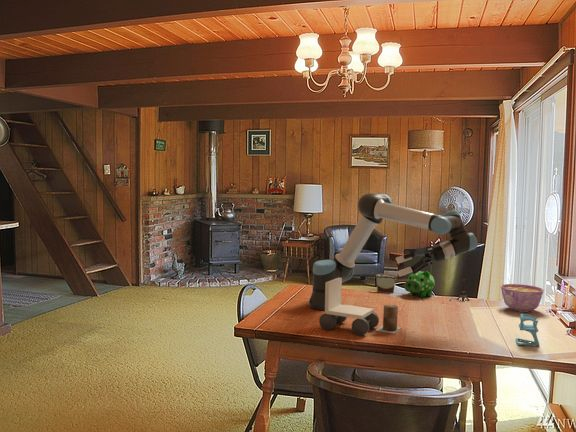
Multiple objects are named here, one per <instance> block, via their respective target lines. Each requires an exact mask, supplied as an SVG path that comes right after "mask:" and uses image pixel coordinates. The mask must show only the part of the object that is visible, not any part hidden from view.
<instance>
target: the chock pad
mask: <svg viewBox="0 0 576 432" xmlns="http://www.w3.org/2000/svg"><path fill="white" fill-rule="evenodd" d="M400 329H401V327H400V326H397V330H396V331H387V330H384V329H383V324H382V325H381V326H379V327H378V328H377V329H375V332H380V333H384V334H392V335H395V334H396V332H398V331H399V330H400Z"/></svg>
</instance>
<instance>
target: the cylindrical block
mask: <svg viewBox="0 0 576 432" xmlns="http://www.w3.org/2000/svg"><path fill="white" fill-rule="evenodd" d="M398 310H399V306H398V305H395V304H384V305H383V315H382V316H383V317H382V325H383V329H384V330H387V331H396V330H397V327H398V317H399V316H398V314H399V311H398Z"/></svg>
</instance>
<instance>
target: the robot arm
mask: <svg viewBox="0 0 576 432" xmlns="http://www.w3.org/2000/svg"><path fill="white" fill-rule="evenodd" d="M357 210H358V212H359V213H360V218H359V220H358V221H357V223H356V225H355V227H354V228H353V230H352V232H351V234H350V236H348V239H347V241H346V242H345V244H344V245H343V247H342V249H341V250H340V253H336V254H335V255H334V257H333V258H332V260H331V259H322V260H320V259H319V260H316V261H315V262H314V263H313V265H312V293H310V294H311V295H310V298H309V300H308V308H310V309H313V310H318V311H325V283H326V282H328V281H331V280H333V279H336V278H342V283H345V282H348V281H349V280H350V279H352V277H353V275H354V274H355V273H354V272H355V269H354V268H355V266H356V264H355V262H356V259H357V258H358V256H359V255H360V252H361V251H362V249H363V247H364V246H365V244H366V243H367V241H368V240H369V238H370V236H371V234H372V233H373V231H374V229H375V227H376V226H378V225H381V224H382V222H383V220H388V221H391V222H396V223H401V224H403V225H408V226H411V227H415V228H420V229H422V230H427V231H431V232H433V233H435V234H436V235H446V234H448V235H449V237H450V239H449V240H446V241H443V242H440V243H439V244H437V243H436V244H434V245H432V246H427V247H418V248H411V249H410V250H409V251H408V252H409V253H406V254H403V255H400V256H397V257H395V260H396V262H397V264H398V265H399V264H402V263H404V262H407V261H410V260H412V259H413V258H415V259H417V258H418V259H420V260H419V261H418V262H416V263H415V264H413V265H412V266H408V267H406V268H405V267H404V268H403V269H400V270H397V271H396V273H397V275H398V277H403V276H406V275H409V273H412V272H413V274H416V273H417V272H419V271H421V272H422V271H423V270H424V269H425V268H427V267H429V266H432V265H433V264H434V262H433V261H435V262H437V263H440V262H443V261H445V260H446V259H447V260H448V259H450V258H451V259H452V258H454V257H455V256H459V255H462V254H465V253H468V252H471V251H473V250H475V249H477V248H478V246H479V245H478V240H477V237H476V236H475V233H474V232H468V231H467V229H466V226H465V224H464V222H463V220H462V216H461V214H460V213H459V211H458V210H457V209H453V210H449V211H447V212H444V213H443V214H442V215H439V214H436V213H431V212H427V211H423V210H418V209H414V208H410V207H407V206H401V205H399V204H394V203H393V200H392V198H391V197H390V196H389V195H388V194H385V193H381V192H380V193H379V192H377V193H365V194H363V195H361V196H360V198H358V201H357Z"/></svg>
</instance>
